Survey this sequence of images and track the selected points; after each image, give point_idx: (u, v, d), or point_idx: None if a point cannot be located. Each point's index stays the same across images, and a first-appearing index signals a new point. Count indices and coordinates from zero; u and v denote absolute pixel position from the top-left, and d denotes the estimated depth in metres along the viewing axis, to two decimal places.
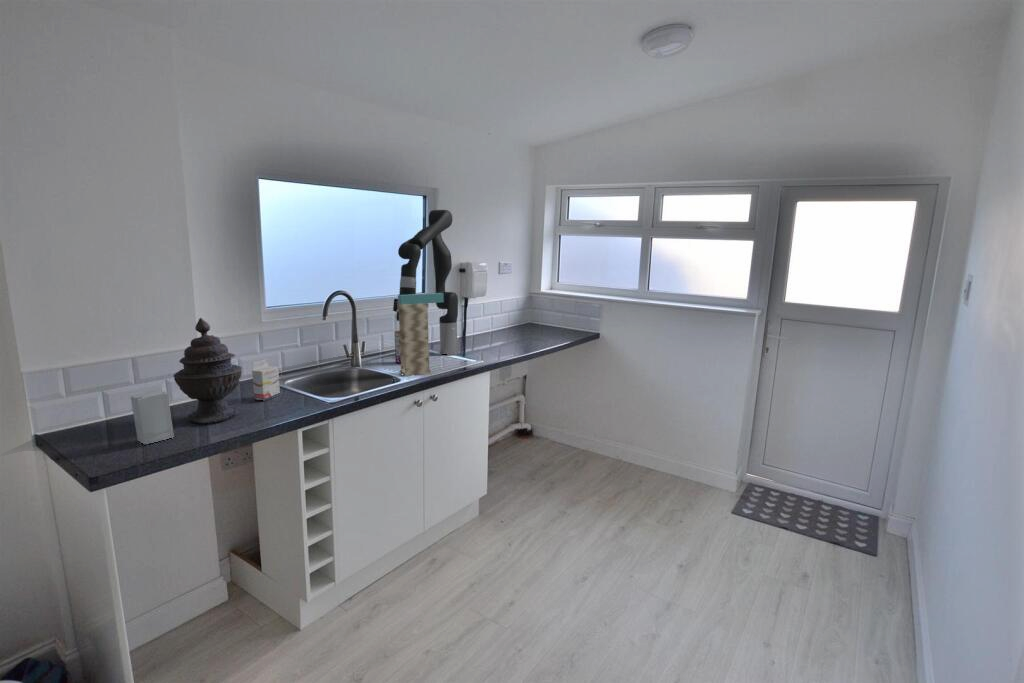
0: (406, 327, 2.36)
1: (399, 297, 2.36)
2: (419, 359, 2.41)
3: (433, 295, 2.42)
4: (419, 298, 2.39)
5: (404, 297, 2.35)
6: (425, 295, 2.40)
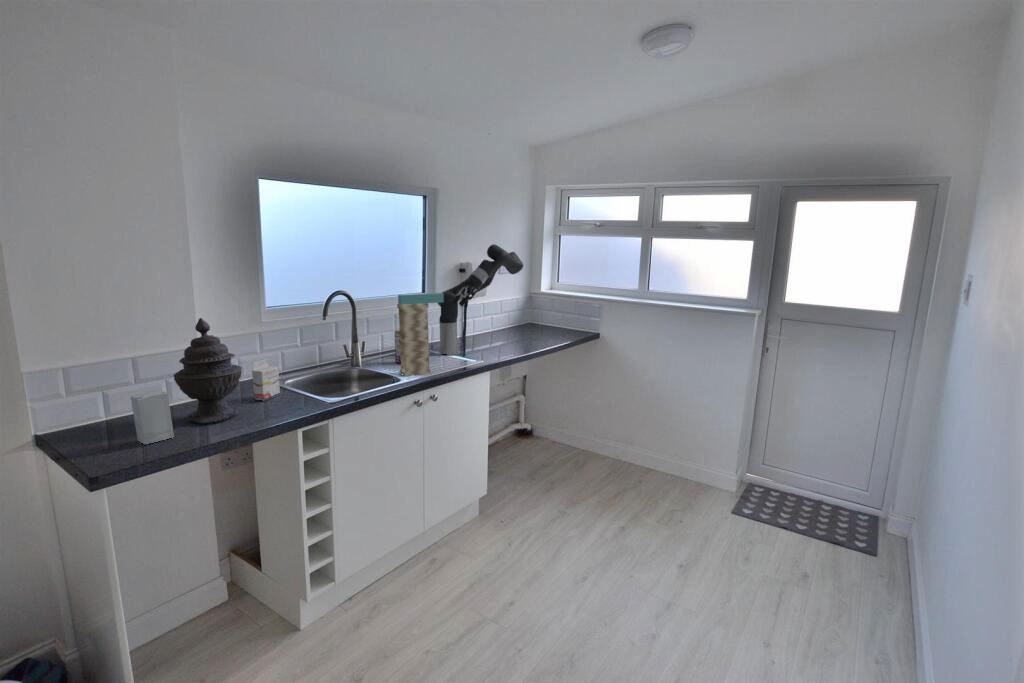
0: (406, 327, 2.36)
1: (399, 297, 2.36)
2: (419, 359, 2.41)
3: (433, 295, 2.42)
4: (419, 298, 2.39)
5: (404, 297, 2.35)
6: (425, 295, 2.40)
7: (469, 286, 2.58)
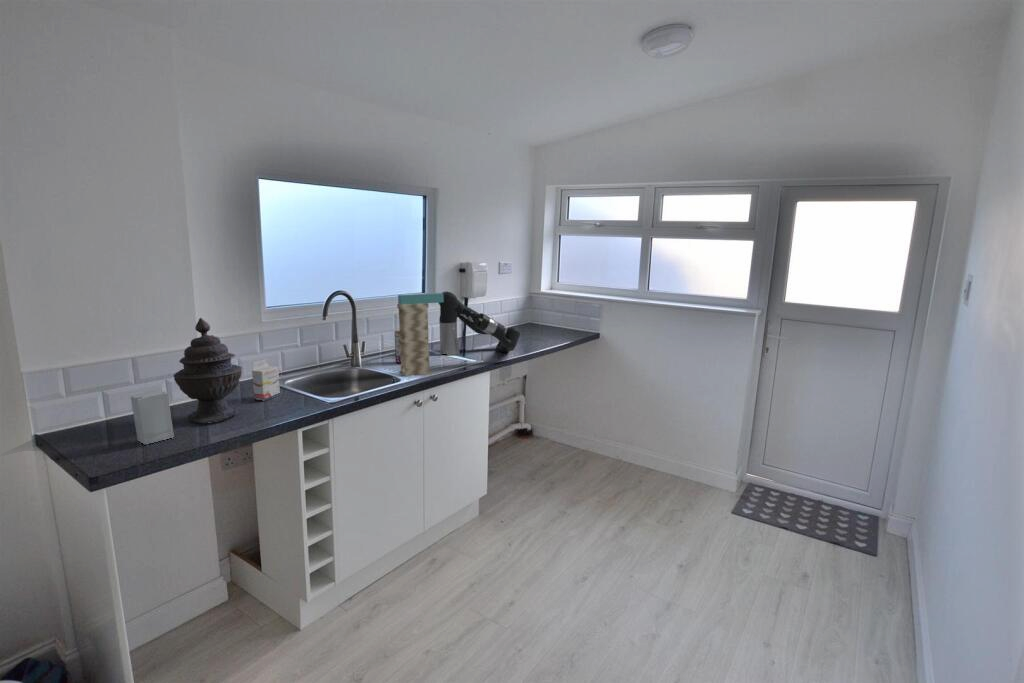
0: (406, 327, 2.36)
1: (399, 297, 2.36)
2: (419, 359, 2.41)
3: (433, 295, 2.42)
4: (419, 298, 2.39)
5: (404, 297, 2.35)
6: (425, 295, 2.40)
7: None
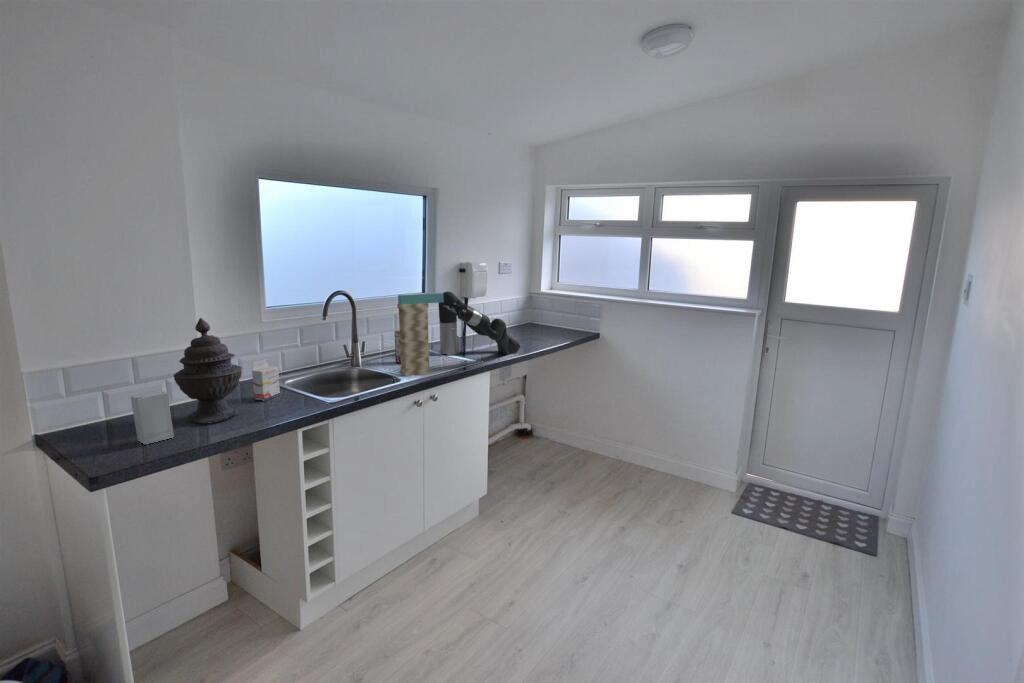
0: (406, 327, 2.36)
1: (399, 297, 2.36)
2: (419, 359, 2.41)
3: (433, 295, 2.42)
4: (419, 298, 2.39)
5: (404, 297, 2.35)
6: (425, 295, 2.40)
7: None
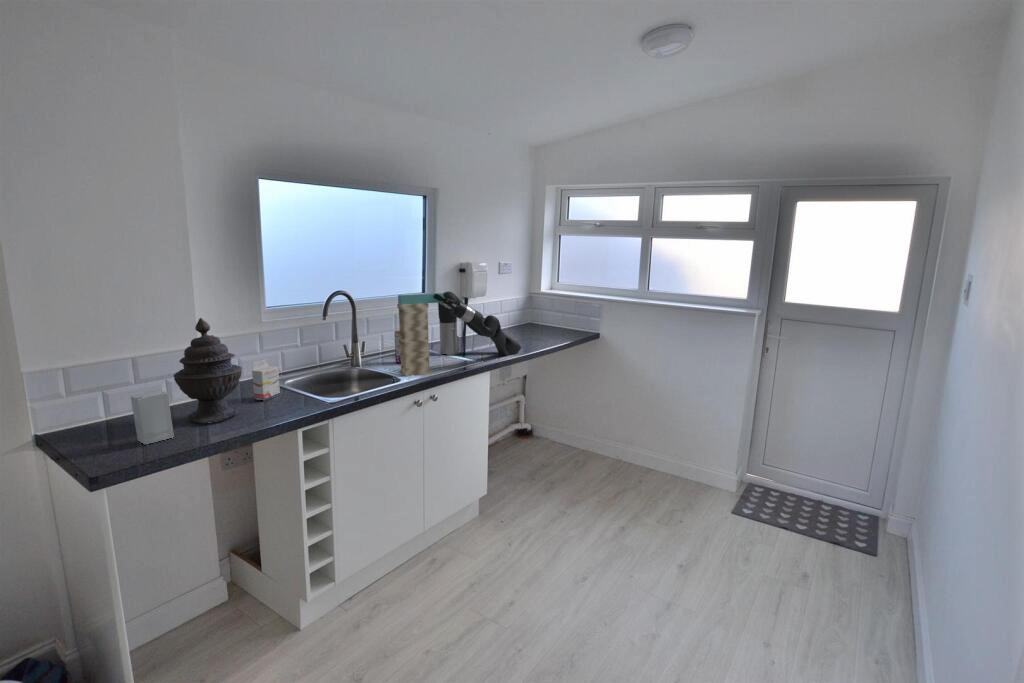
0: (406, 327, 2.36)
1: (399, 297, 2.36)
2: (419, 359, 2.41)
3: (433, 295, 2.42)
4: (419, 298, 2.39)
5: (404, 297, 2.35)
6: (425, 295, 2.40)
7: None
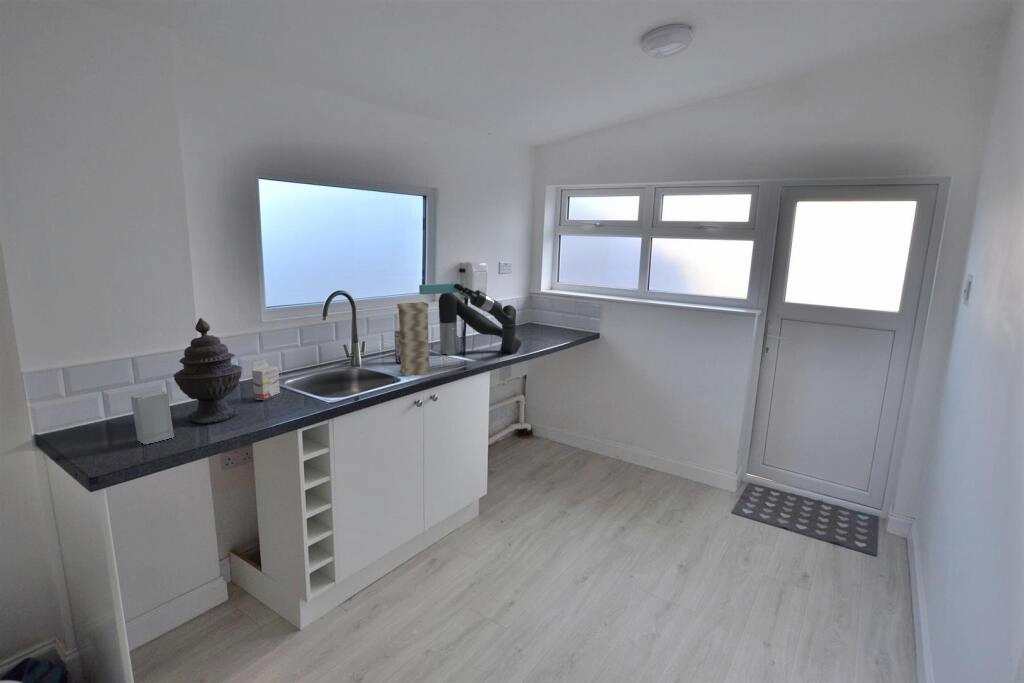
0: (406, 327, 2.36)
1: (420, 287, 2.40)
2: (419, 359, 2.41)
3: (453, 285, 2.45)
4: (440, 288, 2.42)
5: (425, 287, 2.39)
6: (446, 285, 2.43)
7: None
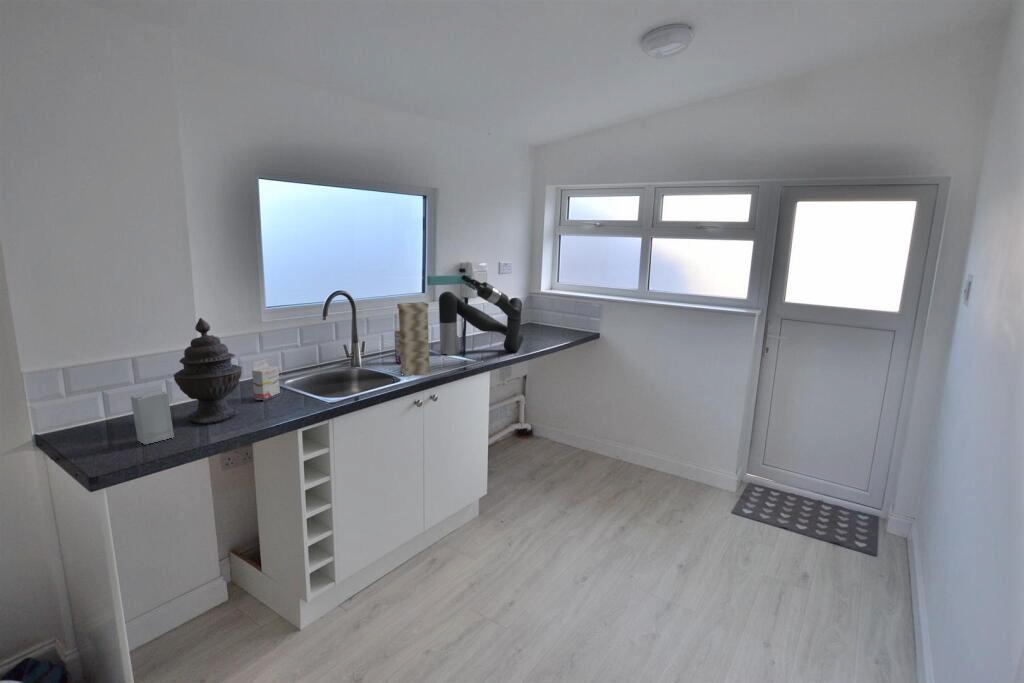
0: (406, 327, 2.36)
1: (428, 278, 2.41)
2: (419, 359, 2.41)
3: (461, 276, 2.47)
4: (448, 279, 2.44)
5: (433, 278, 2.40)
6: (453, 276, 2.45)
7: None
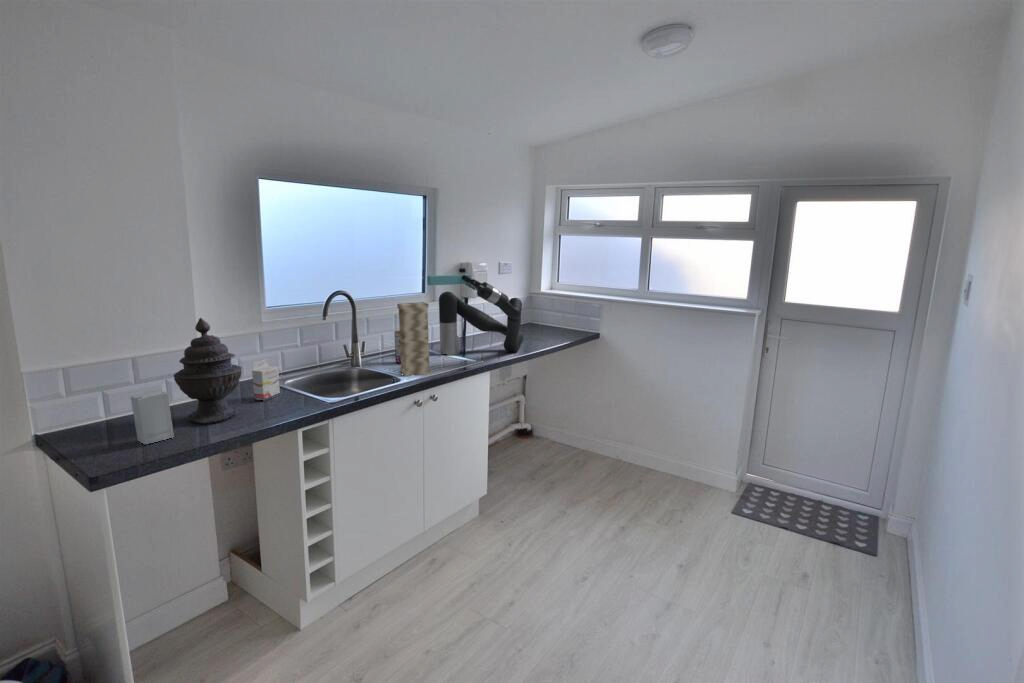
0: (406, 327, 2.36)
1: (428, 278, 2.41)
2: (419, 359, 2.41)
3: (461, 276, 2.47)
4: (448, 279, 2.44)
5: (433, 278, 2.40)
6: (453, 276, 2.45)
7: None
